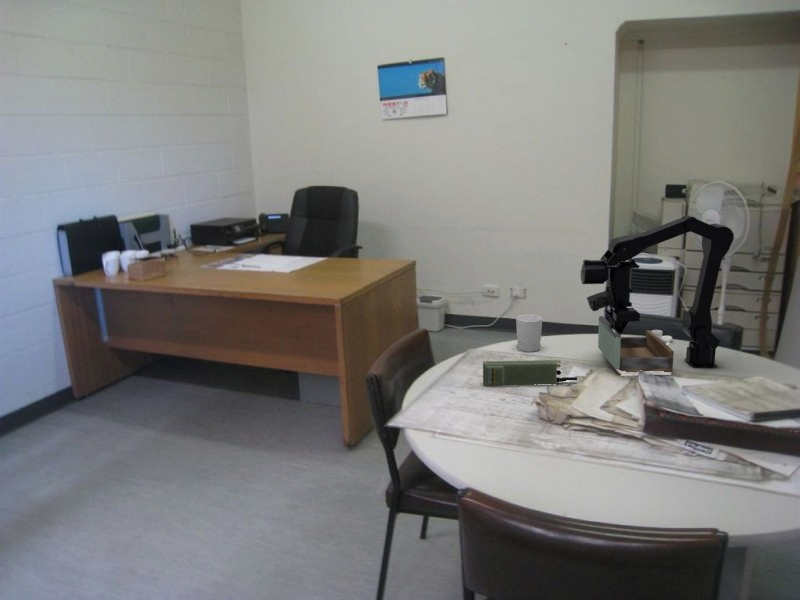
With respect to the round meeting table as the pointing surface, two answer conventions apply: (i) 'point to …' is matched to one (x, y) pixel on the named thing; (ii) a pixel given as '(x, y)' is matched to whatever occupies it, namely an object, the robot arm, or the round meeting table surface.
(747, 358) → the round meeting table surface
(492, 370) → the handheld radio
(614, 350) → the panel
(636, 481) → the round meeting table surface
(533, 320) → the white cup
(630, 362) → the brown and grey drawer
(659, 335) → the teacup and saucer
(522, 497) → the round meeting table surface
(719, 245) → the robot arm
